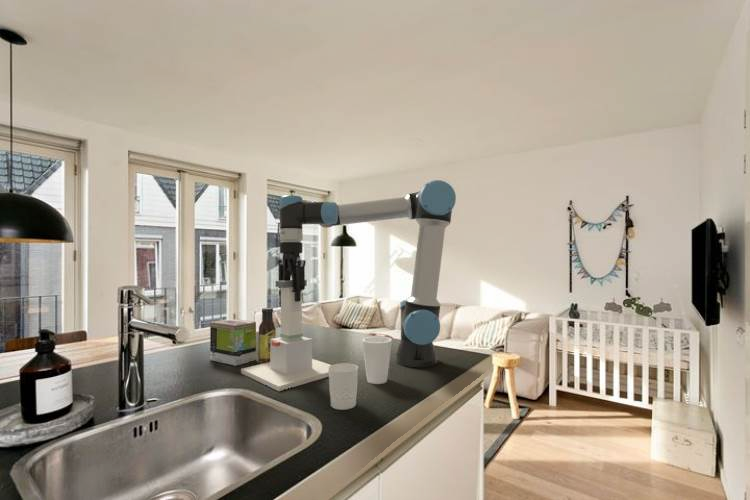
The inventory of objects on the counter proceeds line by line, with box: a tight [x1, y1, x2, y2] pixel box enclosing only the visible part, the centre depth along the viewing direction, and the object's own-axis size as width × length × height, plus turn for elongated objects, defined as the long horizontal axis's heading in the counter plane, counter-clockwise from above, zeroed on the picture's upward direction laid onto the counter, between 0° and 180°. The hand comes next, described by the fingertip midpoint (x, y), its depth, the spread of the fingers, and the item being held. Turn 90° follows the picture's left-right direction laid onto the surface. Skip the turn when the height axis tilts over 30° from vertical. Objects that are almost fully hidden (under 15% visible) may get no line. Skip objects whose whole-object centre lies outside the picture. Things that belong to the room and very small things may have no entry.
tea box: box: [209, 318, 257, 367], centre depth 143 cm, size 15×10×15 cm, turn 58°
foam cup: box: [361, 335, 393, 385], centre depth 120 cm, size 10×9×13 cm
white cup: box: [328, 362, 359, 411], centre depth 101 cm, size 8×8×10 cm
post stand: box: [240, 336, 332, 392], centre depth 128 cm, size 24×24×12 cm
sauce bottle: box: [257, 307, 277, 364], centre depth 141 cm, size 7×6×20 cm
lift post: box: [275, 279, 308, 342], centre depth 128 cm, size 5×9×22 cm, turn 135°
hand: (291, 310), depth 128 cm, fingers closed on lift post, 5 cm apart
